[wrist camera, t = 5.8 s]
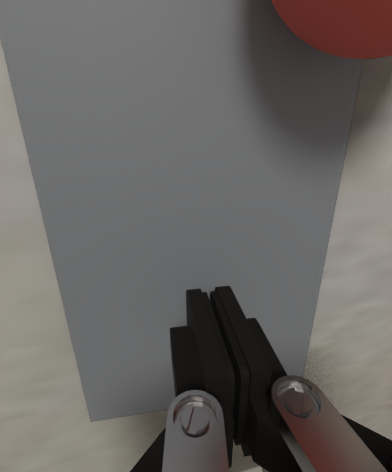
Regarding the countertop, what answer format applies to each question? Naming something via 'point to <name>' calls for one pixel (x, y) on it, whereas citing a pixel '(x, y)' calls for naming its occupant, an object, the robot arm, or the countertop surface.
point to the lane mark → (177, 173)
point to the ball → (341, 25)
